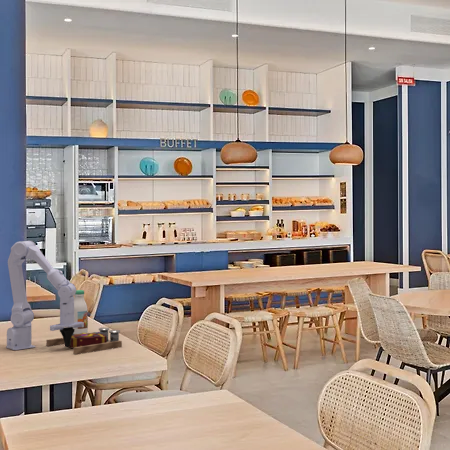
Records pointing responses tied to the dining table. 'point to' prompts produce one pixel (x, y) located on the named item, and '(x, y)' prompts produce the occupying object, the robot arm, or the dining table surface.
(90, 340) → the decorative book
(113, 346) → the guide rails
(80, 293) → the milk bottle
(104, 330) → the boss posts
